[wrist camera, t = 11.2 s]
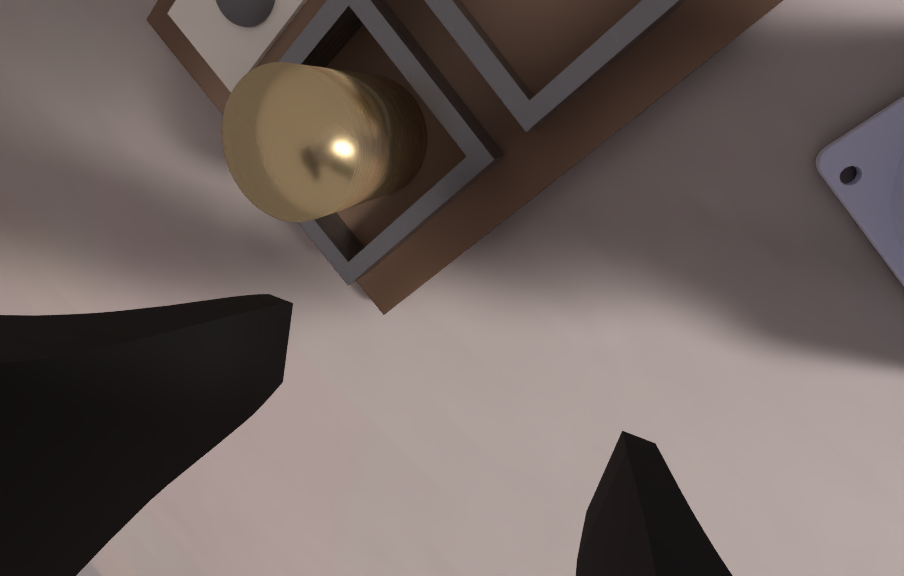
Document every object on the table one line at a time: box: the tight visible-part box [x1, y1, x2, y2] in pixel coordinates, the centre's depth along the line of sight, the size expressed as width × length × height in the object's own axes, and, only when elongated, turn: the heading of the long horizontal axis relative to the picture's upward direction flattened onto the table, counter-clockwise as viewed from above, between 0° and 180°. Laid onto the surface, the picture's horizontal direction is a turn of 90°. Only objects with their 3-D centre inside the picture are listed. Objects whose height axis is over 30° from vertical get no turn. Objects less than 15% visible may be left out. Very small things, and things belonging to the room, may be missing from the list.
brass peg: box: [222, 62, 427, 222], centre depth 16 cm, size 4×4×5 cm
